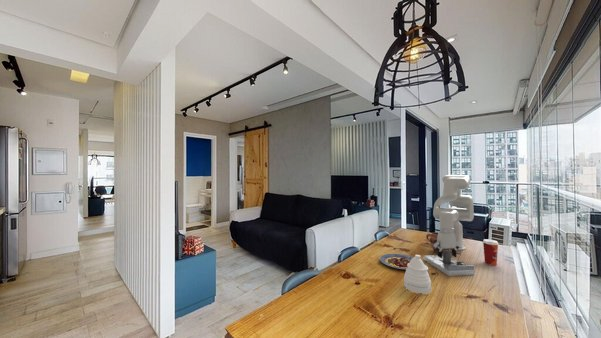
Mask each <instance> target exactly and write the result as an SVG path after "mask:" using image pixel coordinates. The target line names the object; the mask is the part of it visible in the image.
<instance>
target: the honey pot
mask: <svg viewBox="0 0 601 338" xmlns="http://www.w3.org/2000/svg"><path fill="white" fill-rule="evenodd" d="M412 257H413V258H412V260H411V261H410V263H408V264H407V269H405V272H404V273H405V274H404V275H403V287H404V286H405V287H406V288H407V289H408V290H410V291H413V292H416V293H422V294H426V293H430V292H431V293H432V280H431V278H430V274H429V272H428V271H429V267H428V266H427V264H425V263H424V260H422V259H421V258H422V257H421V255H420V254H415V255H414V256H412ZM405 287H404V288H405ZM407 289H406V290H407ZM408 290H407V291H408ZM410 291H409V292H410ZM431 293H430V294H431ZM426 295H427V294H426Z"/></svg>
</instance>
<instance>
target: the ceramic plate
mask: <svg viewBox="0 0 601 338" xmlns="http://www.w3.org/2000/svg"><path fill="white" fill-rule="evenodd" d="M393 257H396V258H393ZM413 257H414V256H412V255H408V254H403V253H385V254H382V255H381V256H379V260H380V262H381V263H382V264H384V265H386V266H388V267H391V268H394V269H397V270H398V269H399V270H406V269H407V268H401V267H407V264H408V263H410V261H411V260H412V258H413ZM388 258H391V259H388ZM397 258H400V259H397ZM387 259H388V263H387V262H386V260H387ZM408 260H410V261H408ZM390 263H392V264H393V265H394V264H395V265H396V266H399V267H396V266H392V265H389V264H390Z"/></svg>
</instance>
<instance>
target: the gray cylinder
mask: <svg viewBox="0 0 601 338" xmlns="http://www.w3.org/2000/svg"><path fill="white" fill-rule="evenodd" d="M442 255H443V263H445V264H451V258H452V250H449V251H448V250H443V254H442Z"/></svg>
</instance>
